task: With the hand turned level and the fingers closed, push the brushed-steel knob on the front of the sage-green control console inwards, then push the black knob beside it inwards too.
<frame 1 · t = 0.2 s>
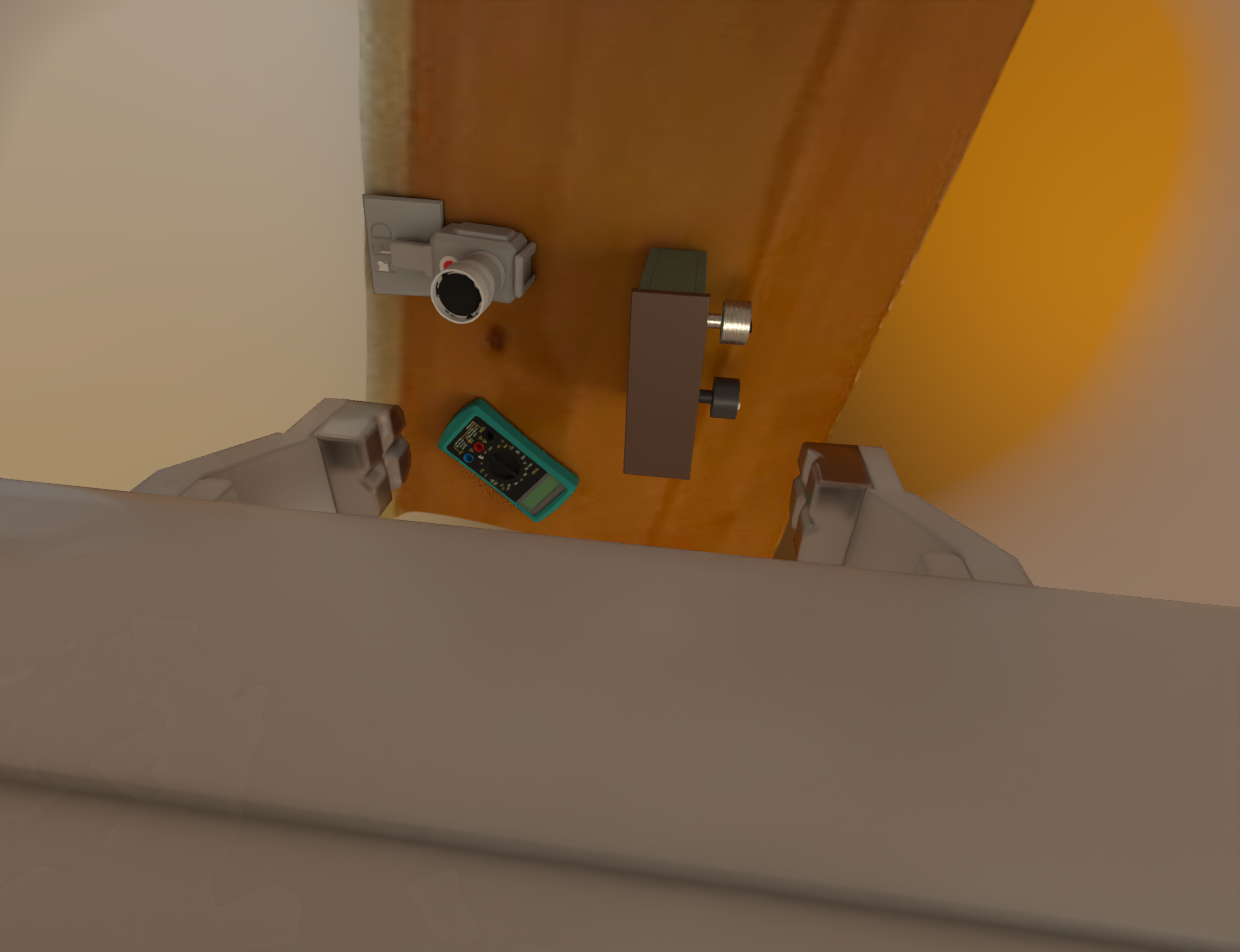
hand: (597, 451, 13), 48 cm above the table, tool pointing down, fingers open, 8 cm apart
camera: (457, 250, 59), on the table
black knob: (708, 396, 57), point 6 cm above the table, slide at 0.1 cm
steel knob: (717, 321, 53), point 6 cm above the table, slide at 0.1 cm
digital multimeter: (513, 455, 71), on the table
console: (672, 330, 61), on the table
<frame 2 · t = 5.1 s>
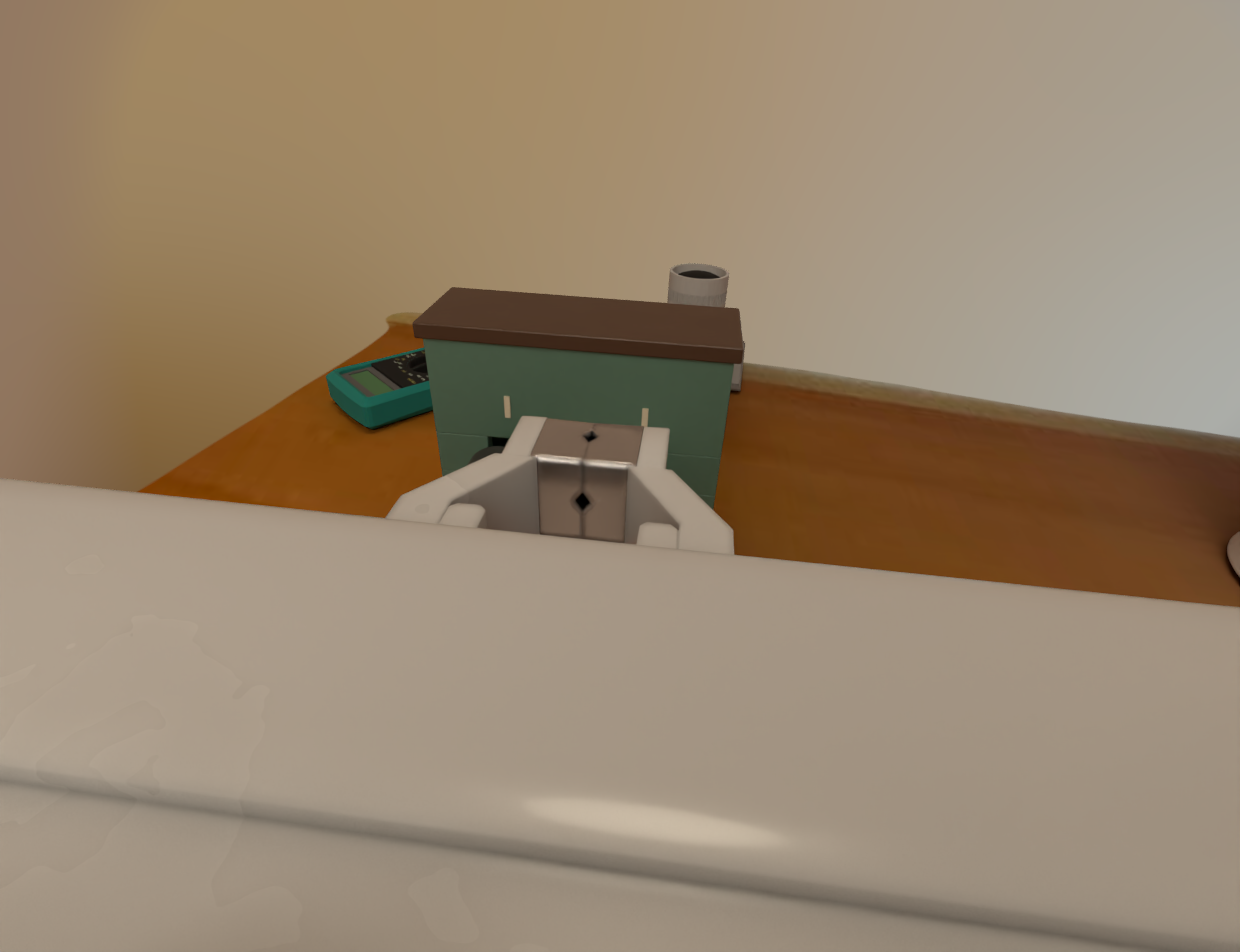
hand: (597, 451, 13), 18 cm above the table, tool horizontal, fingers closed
camera: (689, 395, 56), on the table
black knob: (504, 472, 33), point 6 cm above the table, slide at 0.1 cm
digital multimeter: (430, 394, 55), on the table
console: (583, 531, 40), on the table
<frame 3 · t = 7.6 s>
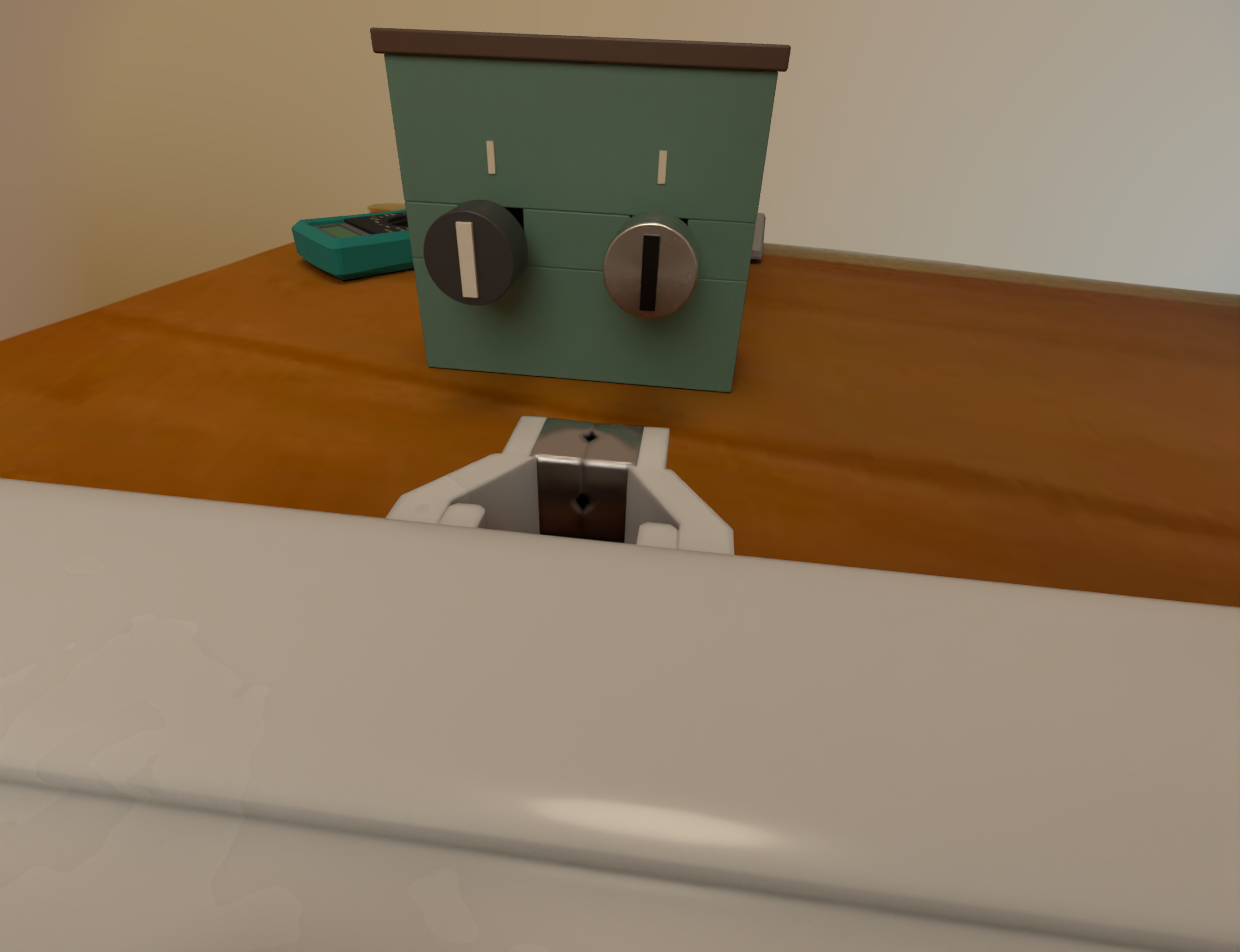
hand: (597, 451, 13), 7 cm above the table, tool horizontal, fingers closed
camera: (704, 264, 50), on the table
black knob: (487, 243, 27), point 7 cm above the table, slide at 0.1 cm
steel knob: (654, 255, 26), point 7 cm above the table, slide at 0.1 cm
digital multimeter: (412, 259, 48), on the table
console: (584, 359, 33), on the table
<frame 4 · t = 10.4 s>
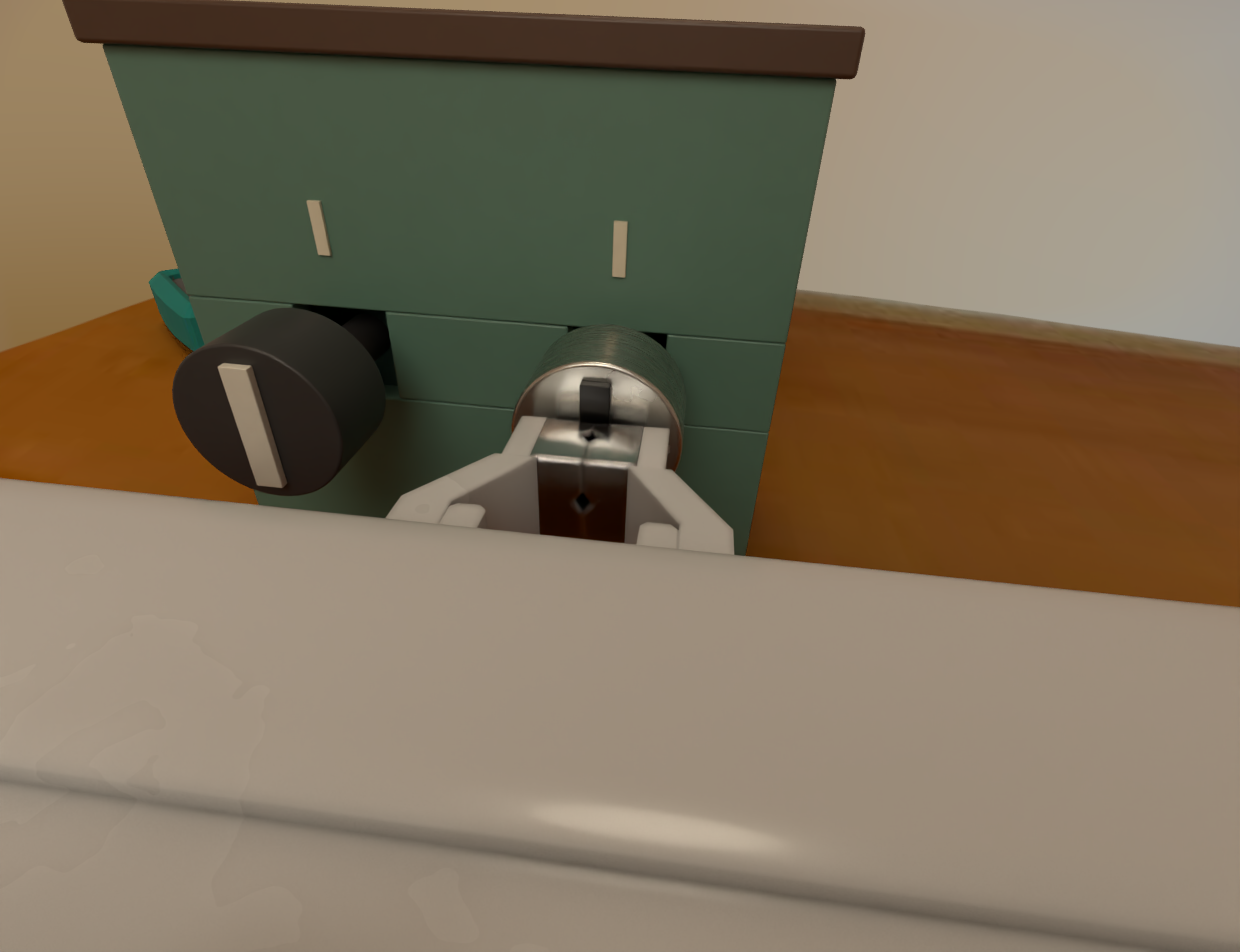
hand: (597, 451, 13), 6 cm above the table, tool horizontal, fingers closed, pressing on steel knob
black knob: (320, 375, 15), point 6 cm above the table, slide at 0.1 cm
steel knob: (611, 389, 15), point 6 cm above the table, slide at -0.5 cm, touching gripper
digital multimeter: (319, 317, 37), on the table
console: (517, 511, 22), on the table
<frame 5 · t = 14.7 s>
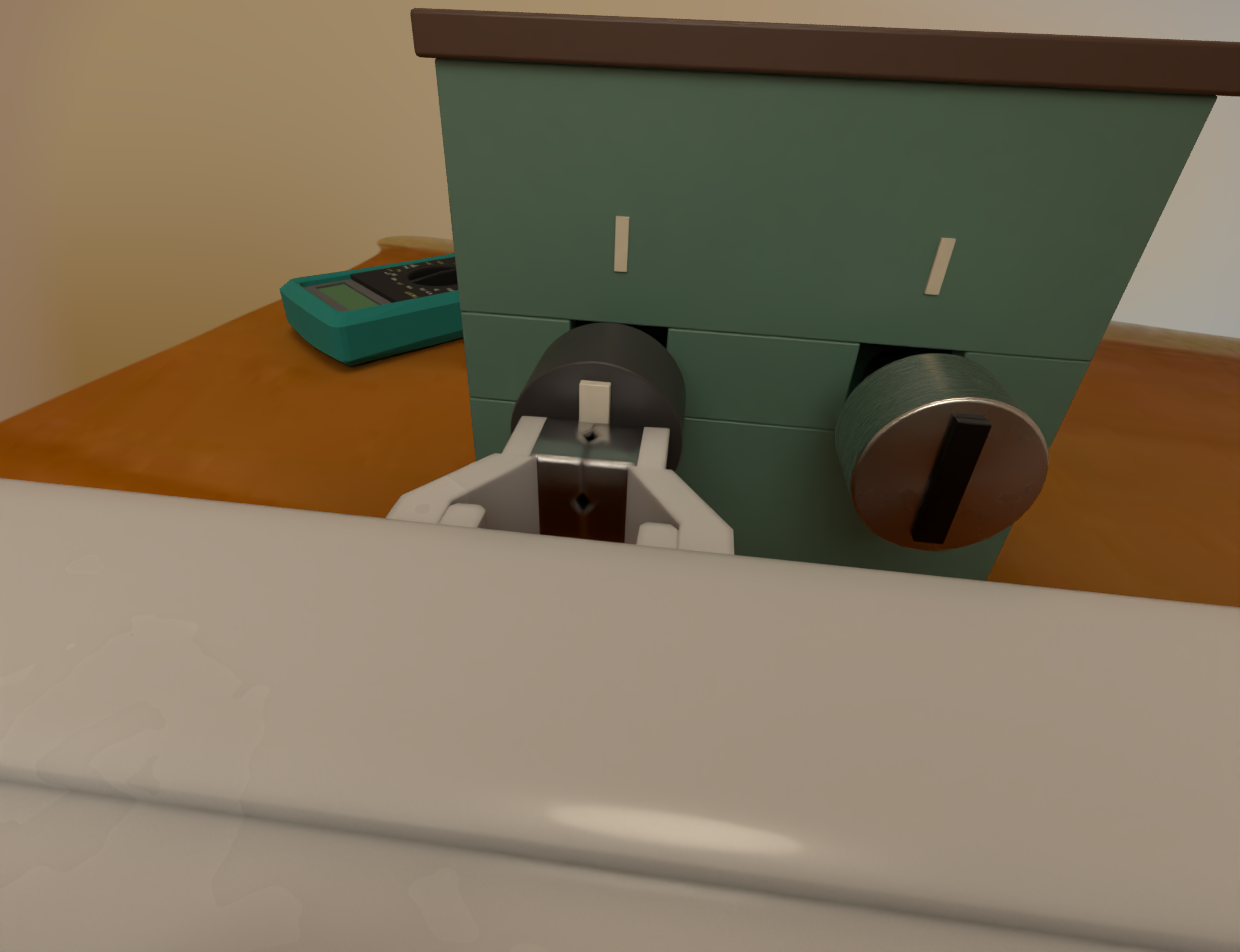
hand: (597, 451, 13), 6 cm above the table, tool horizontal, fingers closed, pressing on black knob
black knob: (611, 389, 15), point 7 cm above the table, slide at -0.1 cm, touching gripper
steel knob: (913, 419, 15), point 7 cm above the table, slide at 0.1 cm
digital multimeter: (439, 324, 37), on the table
console: (721, 525, 22), on the table
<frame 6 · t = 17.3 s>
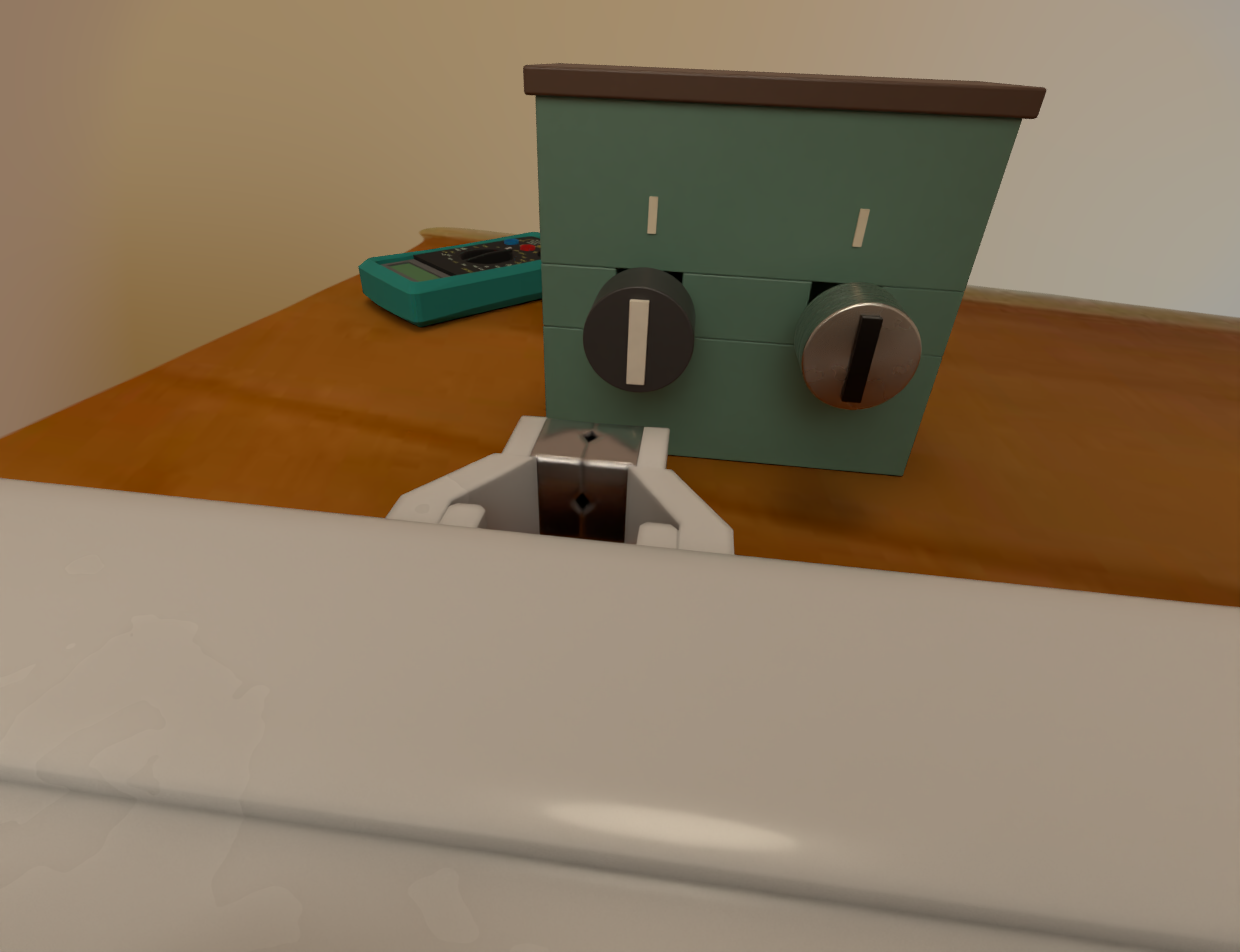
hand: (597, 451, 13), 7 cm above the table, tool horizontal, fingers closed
black knob: (644, 315, 23), point 6 cm above the table, slide at 0.1 cm
steel knob: (846, 330, 22), point 6 cm above the table, slide at 0.1 cm
digital multimeter: (485, 297, 44), on the table
console: (720, 431, 29), on the table
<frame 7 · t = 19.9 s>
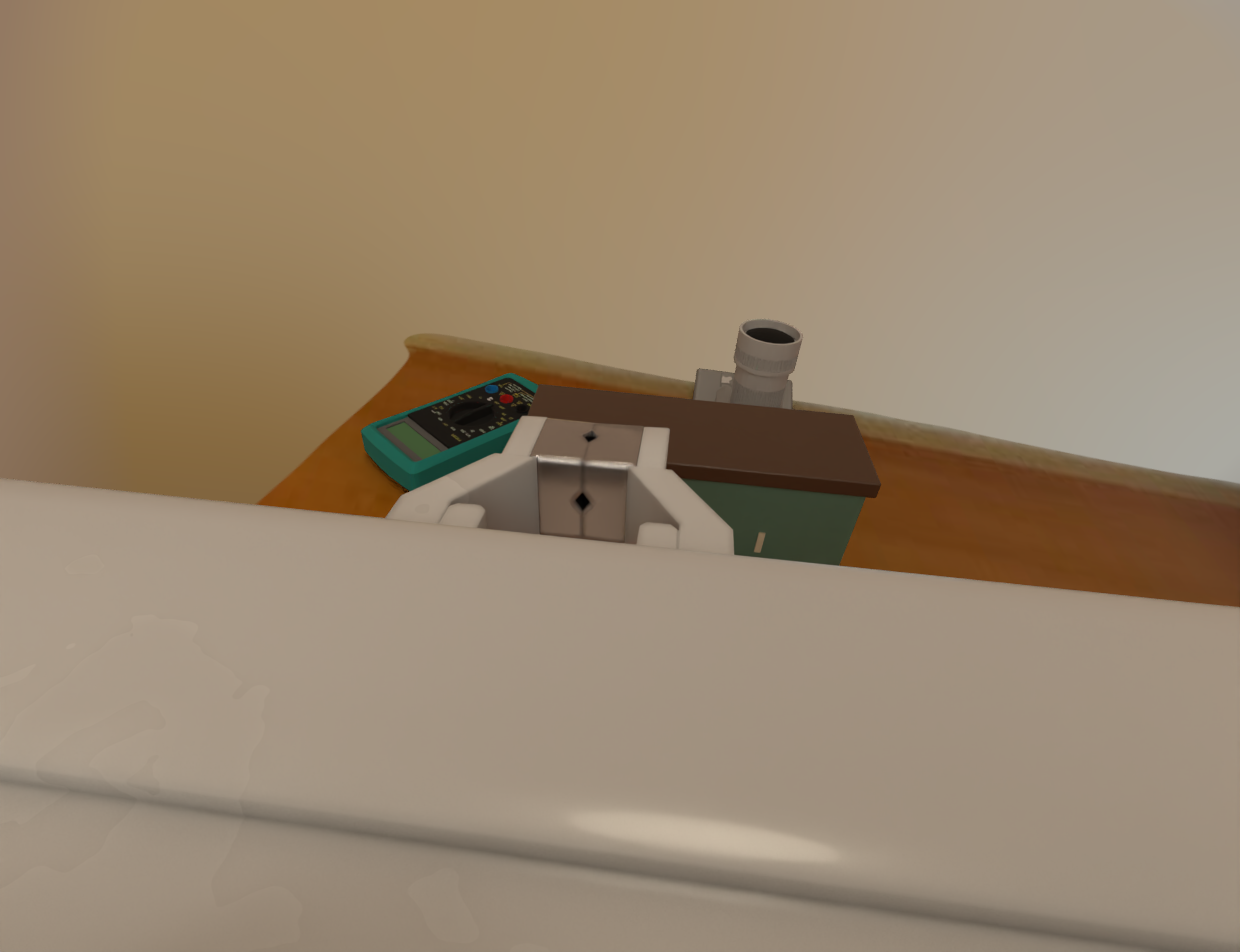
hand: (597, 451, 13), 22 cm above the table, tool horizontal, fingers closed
camera: (739, 443, 54), on the table
digital multimeter: (469, 444, 51), on the table
console: (663, 625, 38), on the table
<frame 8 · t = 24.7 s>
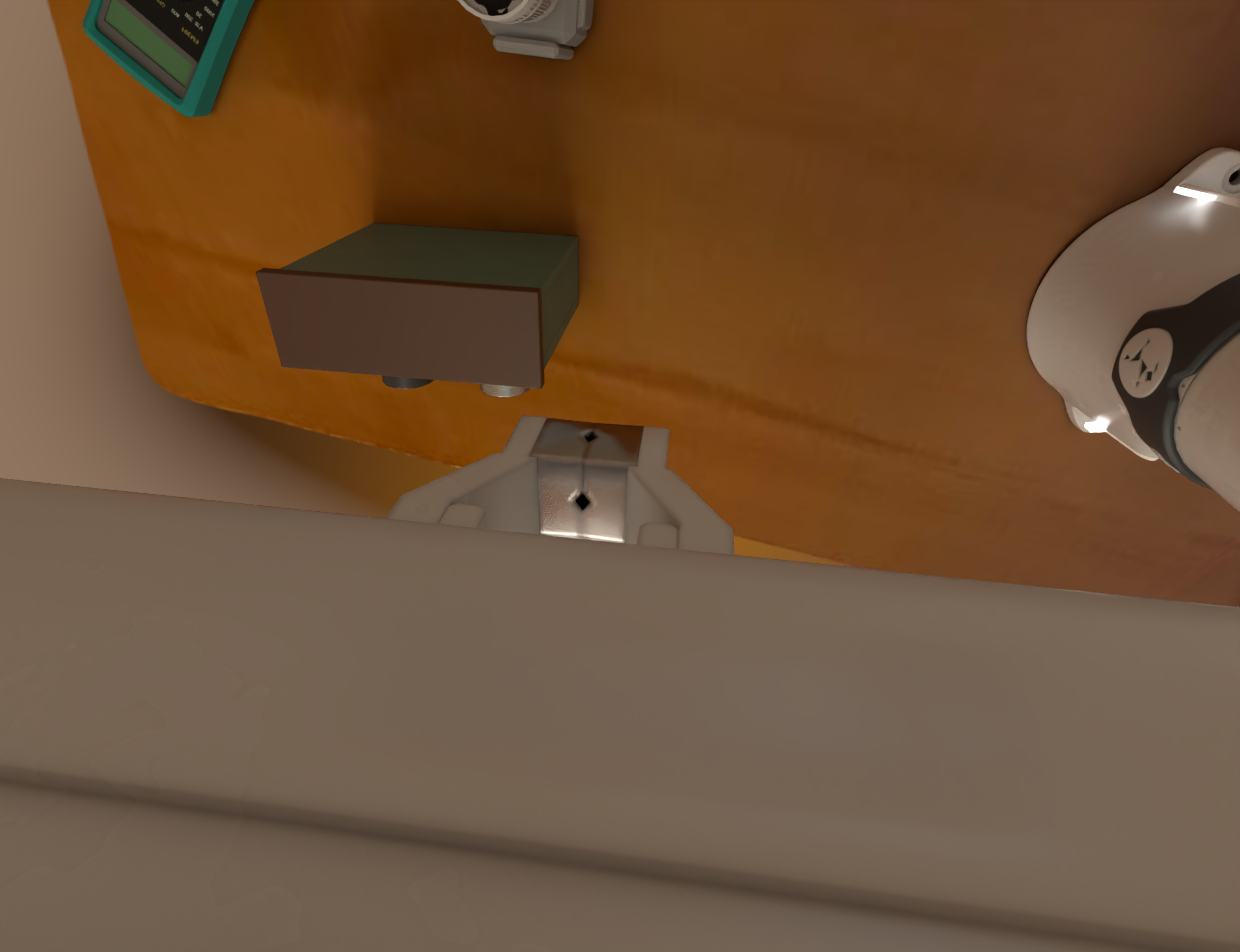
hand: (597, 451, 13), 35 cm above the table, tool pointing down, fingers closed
black knob: (404, 343, 44), point 6 cm above the table, slide at 0.1 cm
steel knob: (503, 351, 43), point 7 cm above the table, slide at 0.1 cm
console: (477, 265, 47), on the table
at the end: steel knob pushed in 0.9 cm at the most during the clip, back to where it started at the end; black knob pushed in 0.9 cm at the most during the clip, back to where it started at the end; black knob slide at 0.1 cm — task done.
